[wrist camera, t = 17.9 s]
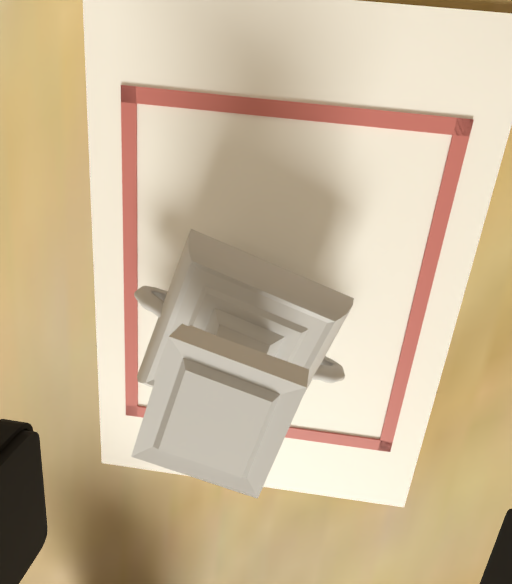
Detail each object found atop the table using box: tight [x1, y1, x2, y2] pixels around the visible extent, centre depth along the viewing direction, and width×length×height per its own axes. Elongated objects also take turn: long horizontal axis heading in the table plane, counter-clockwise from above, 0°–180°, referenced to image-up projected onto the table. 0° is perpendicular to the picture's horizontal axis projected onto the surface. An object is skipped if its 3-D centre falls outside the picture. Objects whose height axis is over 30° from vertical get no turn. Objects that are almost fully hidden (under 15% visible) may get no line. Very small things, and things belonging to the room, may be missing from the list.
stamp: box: [131, 229, 354, 498], centre depth 16 cm, size 9×7×8 cm
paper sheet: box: [83, 0, 512, 507], centre depth 20 cm, size 16×22×1 cm
